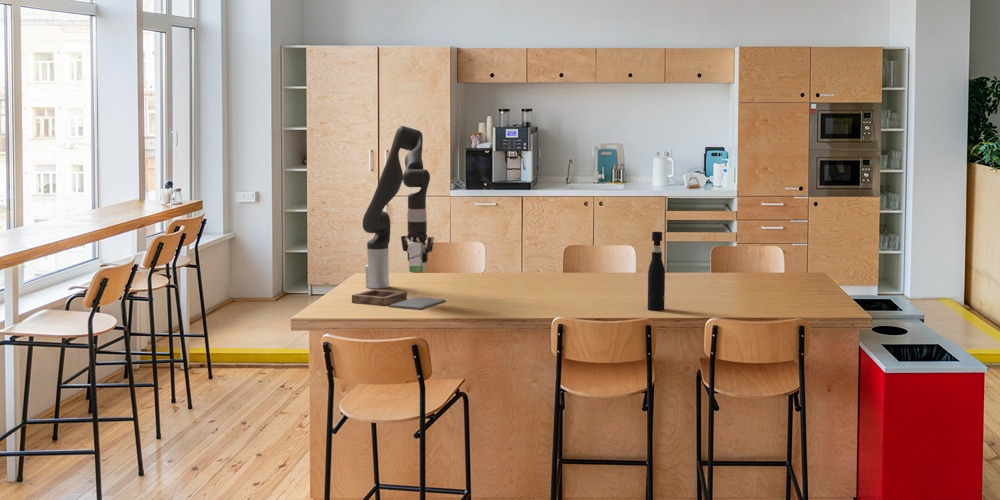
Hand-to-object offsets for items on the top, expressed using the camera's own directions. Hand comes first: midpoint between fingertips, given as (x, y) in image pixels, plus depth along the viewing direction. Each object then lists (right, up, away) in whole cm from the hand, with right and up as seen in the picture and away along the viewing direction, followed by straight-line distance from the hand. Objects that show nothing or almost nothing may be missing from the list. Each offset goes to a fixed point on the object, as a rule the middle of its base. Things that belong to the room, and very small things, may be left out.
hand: (417, 262), depth 412 cm
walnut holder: (-16, -16, +10) cm, 25 cm away
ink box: (0, -4, 0) cm, 4 cm away
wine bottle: (+93, -18, -11) cm, 95 cm away
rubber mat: (0, -17, +2) cm, 17 cm away
